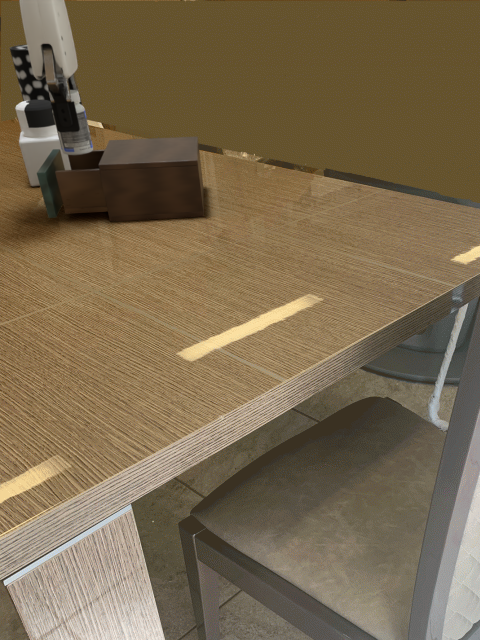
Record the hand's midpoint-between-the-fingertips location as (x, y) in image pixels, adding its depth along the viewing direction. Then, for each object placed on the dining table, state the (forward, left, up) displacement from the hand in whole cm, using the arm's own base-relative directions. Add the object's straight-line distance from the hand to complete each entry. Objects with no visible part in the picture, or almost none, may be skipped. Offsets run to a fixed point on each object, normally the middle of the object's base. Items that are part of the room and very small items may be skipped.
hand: (71, 125), depth 98 cm
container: (-9, +17, -13) cm, 23 cm away
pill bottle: (0, 0, -4) cm, 4 cm away
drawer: (+1, 0, -12) cm, 12 cm away
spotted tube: (-9, +27, -13) cm, 31 cm away
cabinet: (+11, 0, -13) cm, 17 cm away
